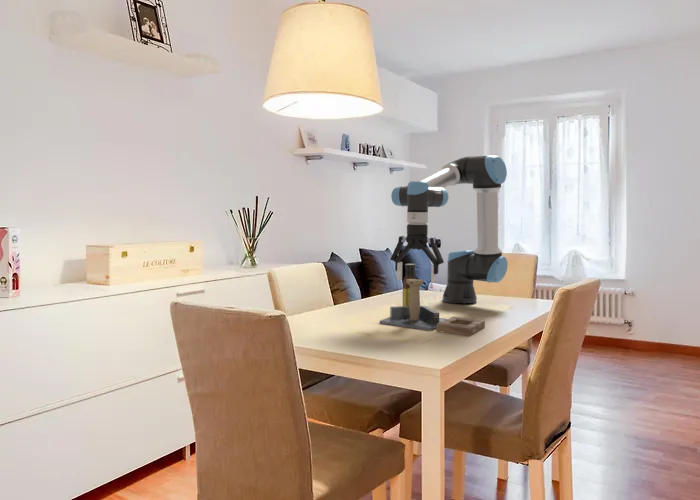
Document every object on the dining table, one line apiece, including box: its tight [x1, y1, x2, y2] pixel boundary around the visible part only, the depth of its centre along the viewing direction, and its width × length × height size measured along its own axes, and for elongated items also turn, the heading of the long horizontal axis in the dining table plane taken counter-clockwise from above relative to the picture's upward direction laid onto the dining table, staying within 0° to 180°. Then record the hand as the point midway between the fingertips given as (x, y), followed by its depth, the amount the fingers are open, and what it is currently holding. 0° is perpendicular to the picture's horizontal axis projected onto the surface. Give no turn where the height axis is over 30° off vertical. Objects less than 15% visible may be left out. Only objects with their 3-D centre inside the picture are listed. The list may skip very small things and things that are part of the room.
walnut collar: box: [436, 316, 486, 337], centre depth 203 cm, size 16×12×2 cm
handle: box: [406, 278, 425, 321], centre depth 211 cm, size 5×6×15 cm
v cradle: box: [379, 305, 448, 331], centre depth 212 cm, size 18×20×5 cm
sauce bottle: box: [402, 263, 417, 306], centre depth 229 cm, size 7×6×20 cm
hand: (416, 281), depth 211 cm, fingers open, 13 cm apart
